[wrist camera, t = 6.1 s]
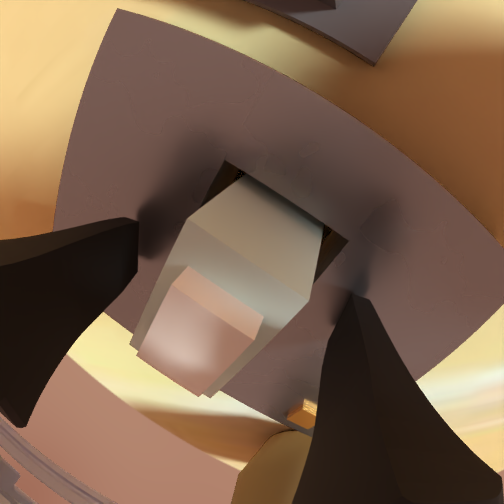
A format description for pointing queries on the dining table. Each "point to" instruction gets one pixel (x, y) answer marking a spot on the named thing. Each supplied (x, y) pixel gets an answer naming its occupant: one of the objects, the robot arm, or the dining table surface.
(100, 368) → the dining table surface
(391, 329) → the port block
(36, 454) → the robot arm
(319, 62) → the dining table surface
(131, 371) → the dining table surface
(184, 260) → the plug
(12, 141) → the dining table surface
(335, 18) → the dark grey holder base
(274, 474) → the squeeze bottle
